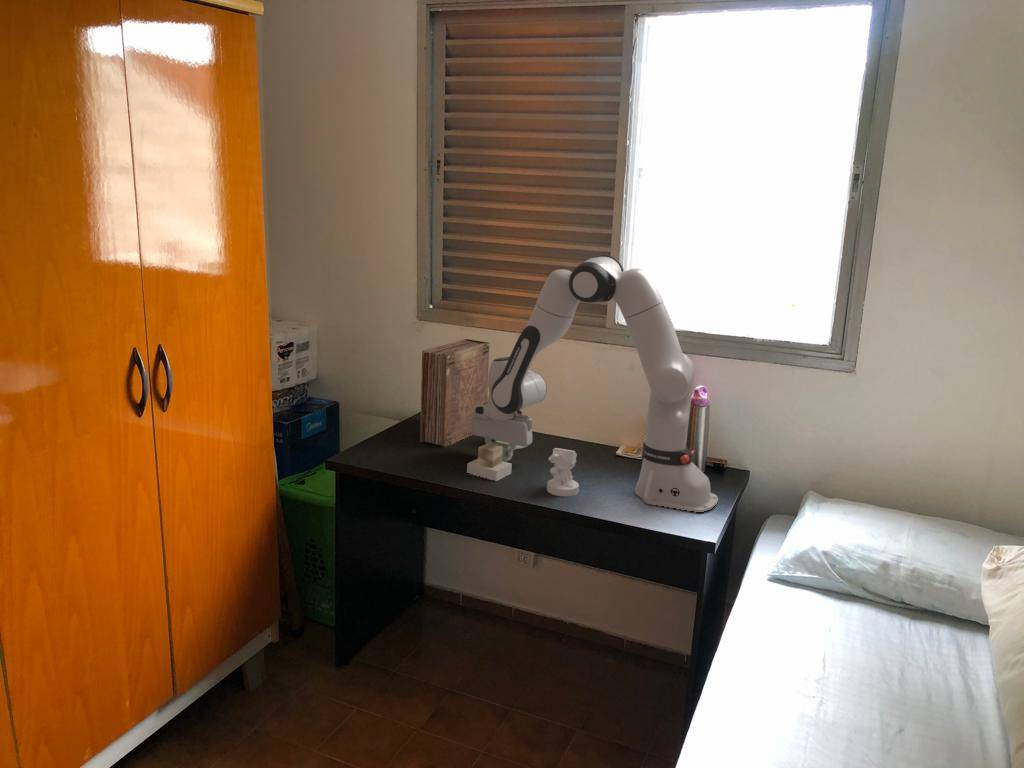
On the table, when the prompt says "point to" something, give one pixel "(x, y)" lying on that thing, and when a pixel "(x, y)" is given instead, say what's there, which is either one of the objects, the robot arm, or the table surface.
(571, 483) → the character figurine
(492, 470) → the tile slab
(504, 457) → the sage cube
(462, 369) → the book
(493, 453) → the maple cube
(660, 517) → the table surface
